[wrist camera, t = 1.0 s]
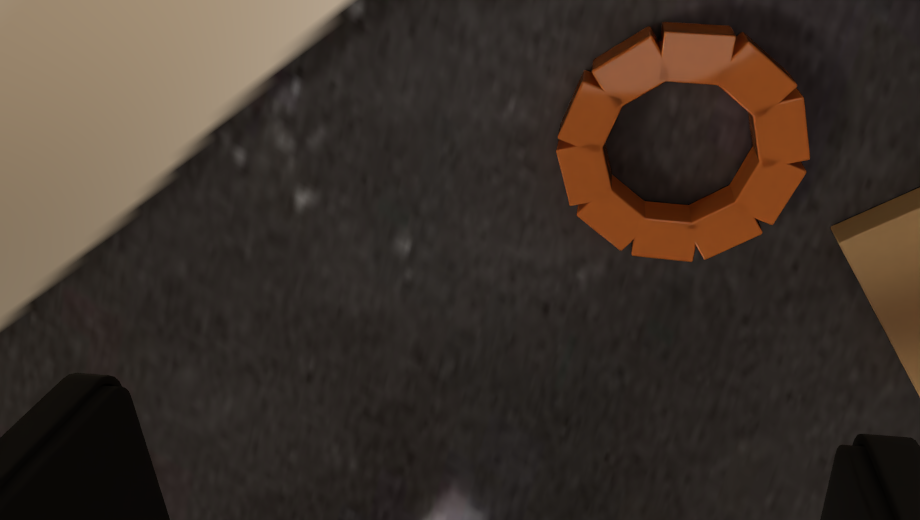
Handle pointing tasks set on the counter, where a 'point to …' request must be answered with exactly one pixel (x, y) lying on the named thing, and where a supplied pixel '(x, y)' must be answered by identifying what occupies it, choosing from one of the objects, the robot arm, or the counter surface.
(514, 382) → the counter surface
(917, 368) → the stand
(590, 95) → the ring
